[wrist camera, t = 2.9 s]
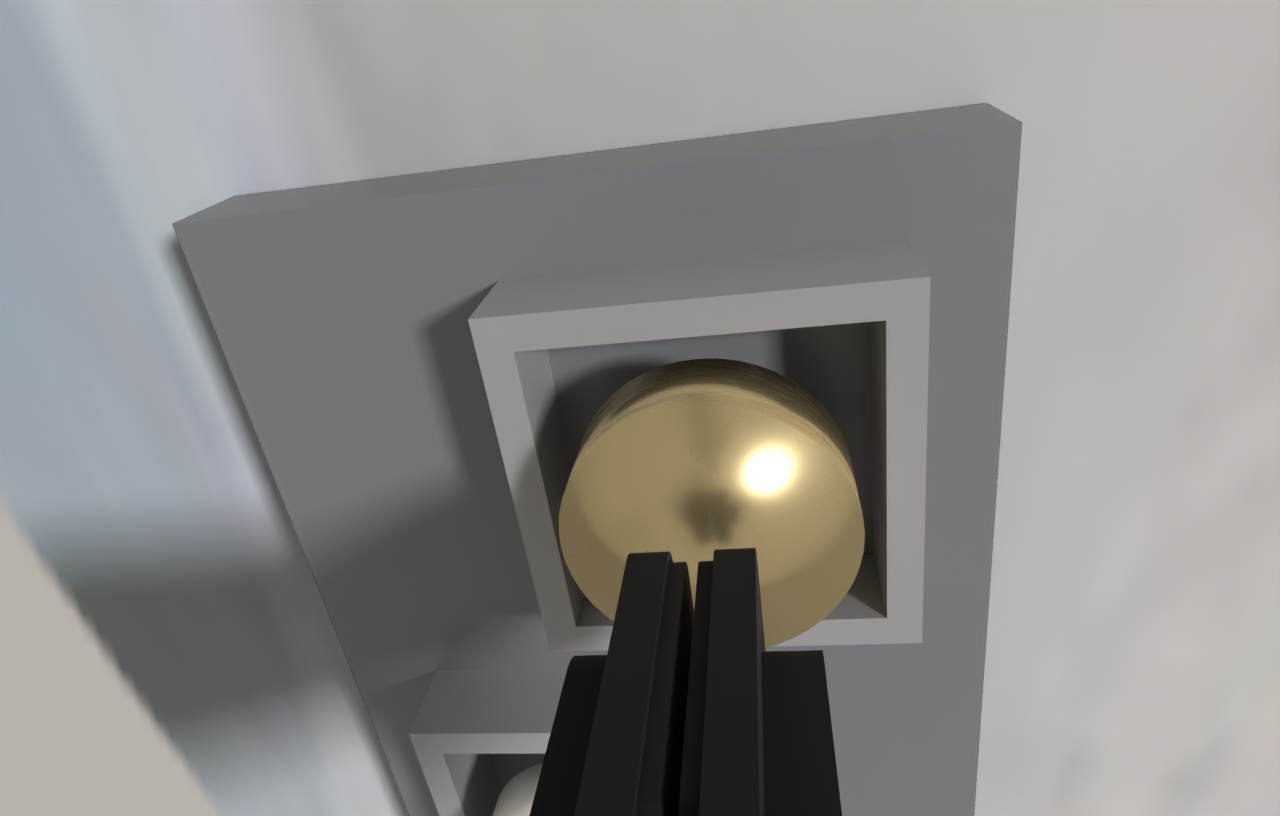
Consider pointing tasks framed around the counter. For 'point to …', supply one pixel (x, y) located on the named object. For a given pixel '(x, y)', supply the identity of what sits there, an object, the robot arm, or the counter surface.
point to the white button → (518, 793)
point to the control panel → (596, 368)
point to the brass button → (717, 488)
